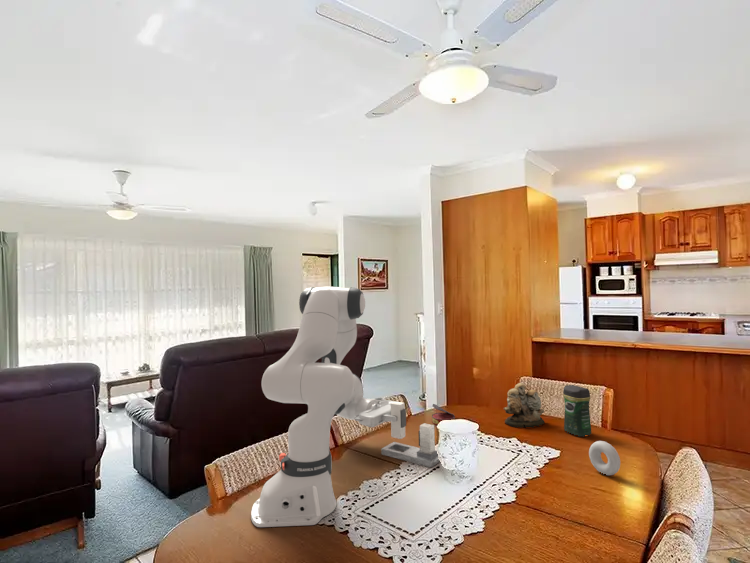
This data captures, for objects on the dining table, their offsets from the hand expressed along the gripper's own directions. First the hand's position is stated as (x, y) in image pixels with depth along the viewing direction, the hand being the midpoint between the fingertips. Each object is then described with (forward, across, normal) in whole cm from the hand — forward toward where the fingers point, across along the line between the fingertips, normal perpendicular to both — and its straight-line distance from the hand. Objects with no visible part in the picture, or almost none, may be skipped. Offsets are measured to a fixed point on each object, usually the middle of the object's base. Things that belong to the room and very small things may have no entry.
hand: (400, 417), depth 150 cm
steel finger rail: (+6, 0, +13) cm, 14 cm away
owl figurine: (+26, +57, +14) cm, 64 cm away
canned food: (-3, +39, +14) cm, 42 cm away
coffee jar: (+47, +56, +13) cm, 74 cm away
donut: (+61, +21, +13) cm, 66 cm away
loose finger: (-1, 0, +7) cm, 7 cm away
